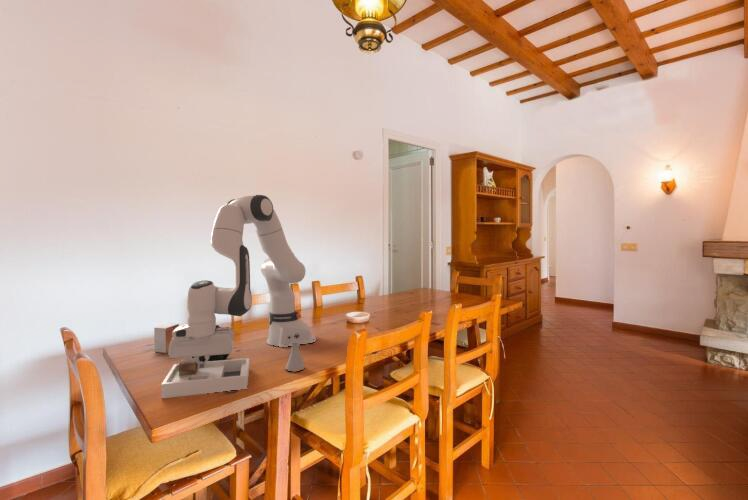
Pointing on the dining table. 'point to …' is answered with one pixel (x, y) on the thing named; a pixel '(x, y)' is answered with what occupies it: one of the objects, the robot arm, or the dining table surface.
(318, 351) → the dining table surface
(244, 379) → the track
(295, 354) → the flask
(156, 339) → the small box
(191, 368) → the walnut block
